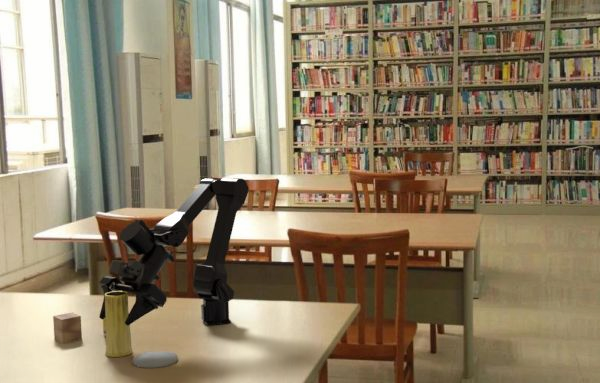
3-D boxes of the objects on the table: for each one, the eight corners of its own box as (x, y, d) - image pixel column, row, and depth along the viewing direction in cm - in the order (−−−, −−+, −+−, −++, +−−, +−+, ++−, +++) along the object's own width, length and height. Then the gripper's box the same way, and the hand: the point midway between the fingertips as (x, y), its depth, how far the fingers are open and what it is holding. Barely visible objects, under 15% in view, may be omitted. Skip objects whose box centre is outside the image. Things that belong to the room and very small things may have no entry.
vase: (137, 350, 176) (134, 291, 175) (123, 358, 170) (120, 297, 169) (115, 348, 178) (112, 289, 177) (100, 356, 172) (97, 295, 171)
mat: (173, 351, 175) (173, 349, 175) (181, 364, 165) (181, 361, 165) (129, 357, 171) (129, 354, 171) (135, 370, 162) (135, 367, 162)
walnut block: (73, 335, 190) (72, 312, 189) (81, 339, 186) (80, 315, 186) (54, 339, 187) (53, 315, 186) (62, 343, 183) (61, 319, 182)
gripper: (103, 243, 181) (66, 296, 173) (155, 250, 169) (118, 308, 162) (130, 269, 188) (96, 322, 180) (182, 278, 176) (147, 334, 169)
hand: (113, 321), depth 173 cm, fingers open, 9 cm apart
